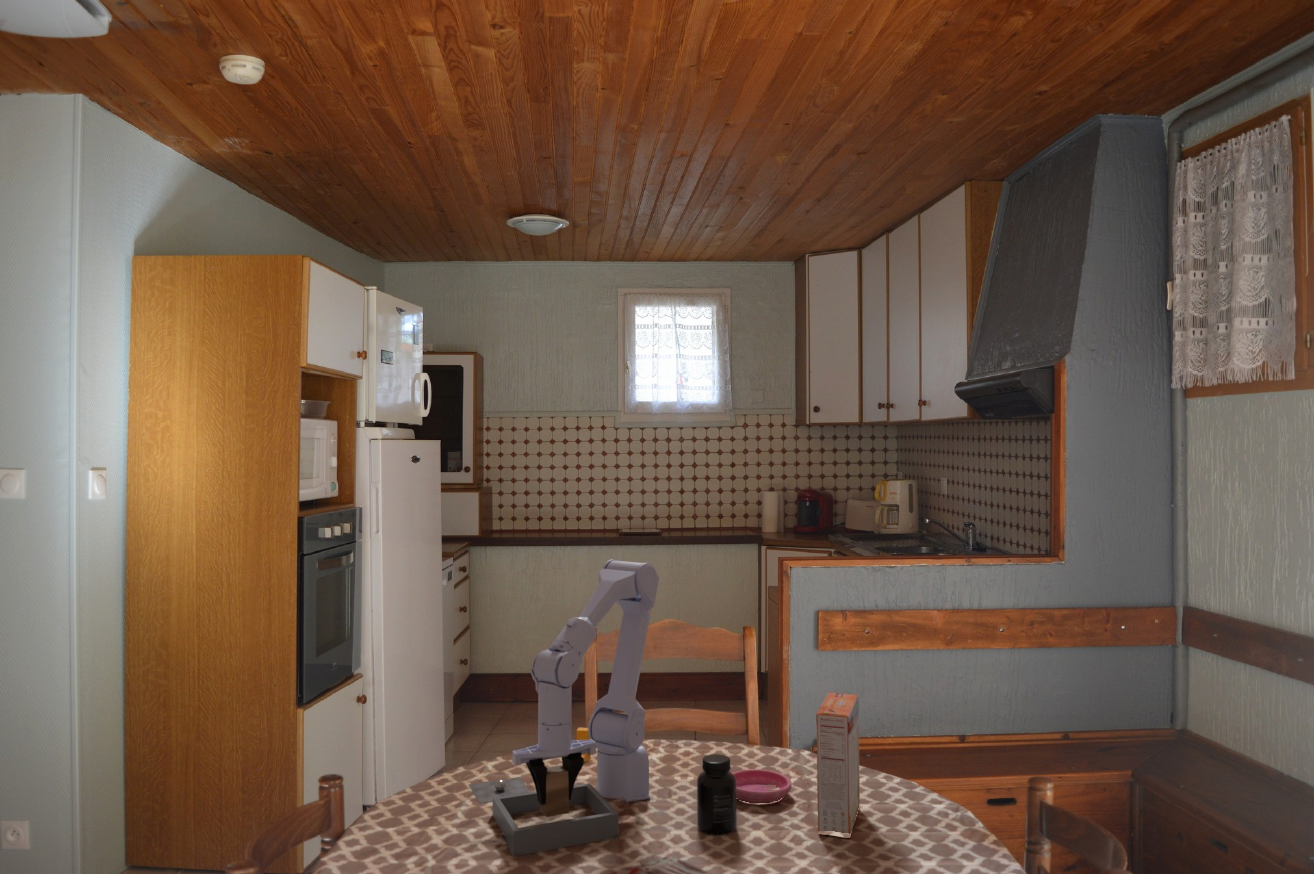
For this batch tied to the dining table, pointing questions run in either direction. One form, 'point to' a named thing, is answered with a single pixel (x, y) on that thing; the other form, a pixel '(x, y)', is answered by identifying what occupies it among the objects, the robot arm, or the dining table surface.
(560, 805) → the small brown box
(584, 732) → the yellow u-shaped block
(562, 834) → the bin
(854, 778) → the cracker box
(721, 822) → the supplement bottle
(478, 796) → the stud plate
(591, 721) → the robot arm
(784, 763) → the dining table surface
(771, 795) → the saucer
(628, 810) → the dining table surface
